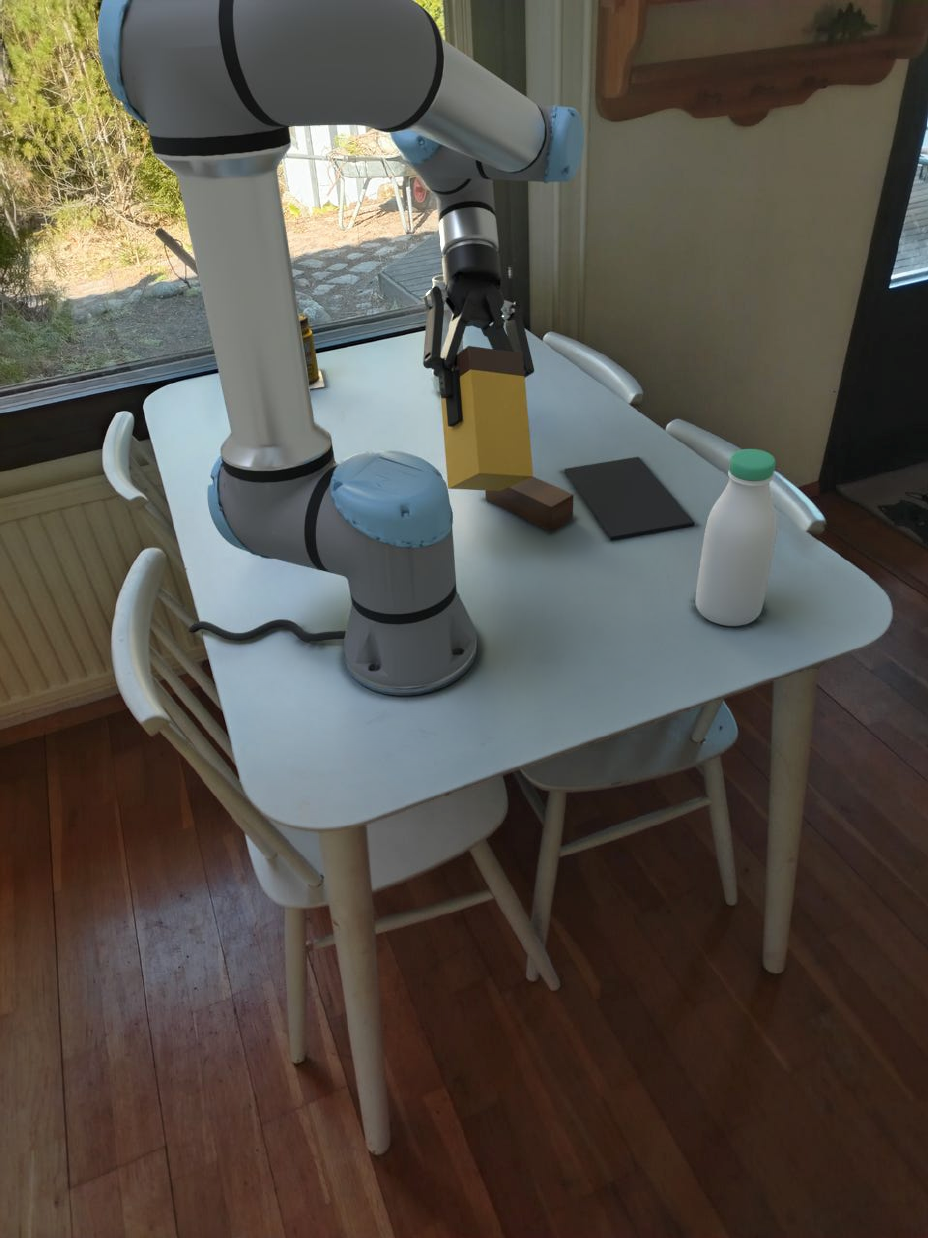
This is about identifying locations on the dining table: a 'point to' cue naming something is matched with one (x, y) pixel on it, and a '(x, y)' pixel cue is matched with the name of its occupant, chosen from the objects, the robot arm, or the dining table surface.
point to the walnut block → (536, 502)
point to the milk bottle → (739, 543)
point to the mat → (627, 498)
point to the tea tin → (489, 423)
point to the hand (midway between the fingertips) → (485, 425)
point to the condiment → (310, 354)
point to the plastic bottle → (447, 317)
